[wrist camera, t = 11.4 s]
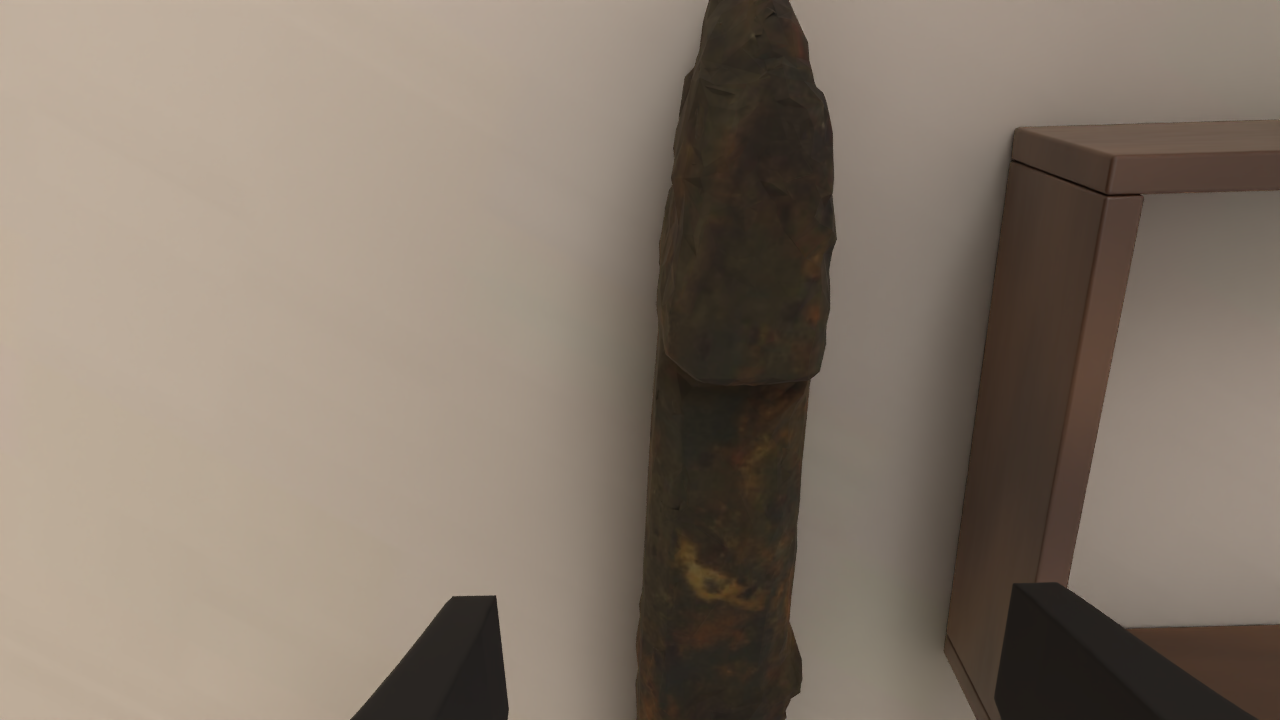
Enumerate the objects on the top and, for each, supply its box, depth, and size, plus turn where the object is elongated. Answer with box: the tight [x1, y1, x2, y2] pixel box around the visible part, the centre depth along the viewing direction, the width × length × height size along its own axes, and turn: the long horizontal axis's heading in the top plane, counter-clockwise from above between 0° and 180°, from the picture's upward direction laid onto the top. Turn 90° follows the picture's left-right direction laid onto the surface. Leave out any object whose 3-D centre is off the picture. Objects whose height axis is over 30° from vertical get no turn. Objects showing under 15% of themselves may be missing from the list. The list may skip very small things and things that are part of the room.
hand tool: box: [636, 0, 837, 720], centre depth 16 cm, size 19×4×5 cm, turn 176°
